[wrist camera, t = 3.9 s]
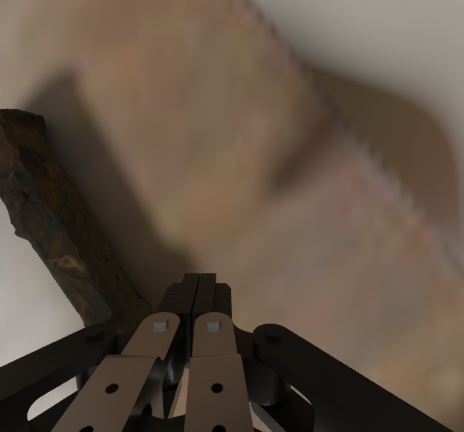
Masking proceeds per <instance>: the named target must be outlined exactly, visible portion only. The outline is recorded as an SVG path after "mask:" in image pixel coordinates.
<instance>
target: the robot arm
mask: <svg viewBox="0 0 464 432" xmlns="http://www.w3.org/2000/svg"><path fill="white" fill-rule="evenodd" d="M184 368H189V379H188V390H187V402H186V414H185V415H181V416H177V417H173V415H174V411H175V408H176V404H177V401H178V397H179V394H180V391H181V387H182V376H183V372H184ZM75 376H76V382H77V391H76V392H74V393H73V394H71V395H70V396H68V397H66V398H65V399H63V400H62V401H60V402H59V403H57V404H55V405H54V406H52V407H51V408H49V409H47V410H46V411H44V412H43V413H41V414H40V415H38V416H36V417H35V418H33V419H32V420H30V421H28V419H27V413H28V410H29V408H30V407H31V405H32V404H33V403H34V402H35V401H36V400H37V399H38V398H40V397H41V396H43V395H45V394H46V393H48V392H50V391H51V390H53V389H55V388H56V387H58V386H60V385H61V384H63V383H65V382H67V381H68V380H70V379H72V378H73V377H75ZM291 385H292V386H293V387H294V388H295V389H297V390H298V391H299V392H300V393H302V394H303V395H304V396H305V397H306V398H307V399H308V400H309V401H310V403H311V404H312V405H311V404H310V403H308V402H307V401H306V400H305V399H303V398H302V397H301V396H300V395H299V394H297V393H296V392H295V391H294V390H293V389H291ZM249 401H250V402H251V407H252V410H253V411H254V413H255V414H256V415H257V416H258V417H259V418H260V419H261V420H262V421H263V422H264V424H265V425H266V426H267V427H268V428H269V429H270V430H271V431H272V432H453V431H452V430H450V429H448V428H447V427H445V426H444V425H442V424H440V423H439V422H437V421H436V420H434V419H432V418H431V417H429V416H427V415H426V414H424V413H423V412H421V411H419V410H418V409H416V408H415V407H413V406H411V405H410V404H408V403H406V402H405V401H403V400H402V399H400V398H398V397H397V396H395V395H394V394H392V393H390V392H389V391H387V390H385V389H384V388H382V387H381V386H379V385H377V384H376V383H374V382H373V381H371V380H369V379H368V378H366V377H364V376H363V375H361V374H360V373H358V372H356V371H355V370H353V369H352V368H350V367H348V366H347V365H345V364H343V363H342V362H340V361H339V360H337V359H335V358H334V357H332V356H331V355H329V354H327V353H326V352H324V351H322V350H321V349H319V348H318V347H316V346H314V345H313V344H311V343H310V342H308V341H306V340H305V339H303V338H301V337H300V336H298V335H297V334H295V333H293V332H292V331H290V330H289V329H287V328H285V327H283V326H281V325H277V324H263V325H260V326H258V327H257V328H256V329H255V330H254V331H253V333H250V332H246V331H243V330H241V329H239V328H237V327H236V326H235V325H234V324H233V322H232V307H231V288H230V287H229V286H228V284H227V283H216V273H201V274H200V273H185V276H184V278H183V281H182V283H174V284H172V285H171V286H170V287H168V288H167V290H166V292H165V294H164V296H163V298H162V300H161V303H160V305H159V307H158V309H157V311H156V313H155V314H152V315H150V316H148V317H147V318H145V319H144V320H143V321H142V323H141V324H140V326H139V327H138V329H137V330H136V331H133V332H129V333H124V334H119V335H117V328H116V327H115V326H114V325H112V324H108V323H99V324H94V325H90V326H88V327H85V328H83V329H81V330H79V331H77V332H75V333H72V334H70V335H68V336H66V337H64V338H62V339H60V340H57V341H55V342H53V343H51V344H49V345H47V346H45V347H42V348H40V349H38V350H36V351H34V352H32V353H30V354H28V355H25V356H23V357H21V358H19V359H17V360H15V361H13V362H10V363H8V364H6V365H4V366H2V367H0V432H262V431H260V430H258V429H256V428H254V427H253V422H252V416H251V411H250V405H249Z"/></svg>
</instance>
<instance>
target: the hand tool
mask: <svg viewBox="0 0 464 432" xmlns="http://www.w3.org/2000/svg"><path fill="white" fill-rule="evenodd" d="M44 127H45V120H44V118H43V116H41V115H35V114H33V113H30V112H26V111H22V110H19V109H0V198H1V200H2V201H3V203H4V204H5V205H6V208H7V210H8V213H9V216H10V220H11V224H12V225H13V226H14V228H15V229H16V230H15V233H14V234H16V235H17V236H18V237H21V238H23V239H26V240H28V241H29V242H30V243H31V245H32V247H33V249H34V250H35V251H36V252H37V254H38V255H39V257H40V258H41V260H42V261H43V263H44V264H45V265H46V267H47V268H48V270H49V271H50V273H51V275H52V276H53V278H54V279H55V280H56V282H57V283H58V285H59V286H60V288H61V289H62V291H63V292H64V294H65V295H66V297H67V298H68V299H69V301H70V302H71V304H72V305H73V307H74V308H75V309H76V312H78V313H79V315H80V316H81V318H82V320H83V322H84V326H85V327H88V326H90V325H94V324H99V323H108V324H112V325H114V326H115V327H116V328H117V335H119V334H124V333H129V332H133V331H136V330H137V329H138V327H139V326H140V324H141V323H142V321H143V320H144V319H145V318H147V317H148V316H150V315H152V312H151V309H150V306H149V304H148V302H147V301H146V300H145V299H144V297H138V296H137V295H136V294H135V292H134V290H133V289H132V287H131V286H130V284H129V282H128V281H127V279H126V277H125V275H124V273H123V271H122V269H121V268H120V266H119V264H118V262H117V261H116V259H115V257H114V255H113V252H112V250H111V248H110V246H109V244H108V243H107V241H106V240H105V239H104V238H103V236H102V235H101V233H100V232H99V230H98V228H97V226H96V225H95V223H94V221H93V220H92V218H91V216H90V214H89V212H88V210H87V208H86V207H85V204H84V202H83V201H82V199H81V198H80V196H79V194H78V192H77V189H76V187H75V186H74V185H73V184H72V183H71V182H70V180H69V179H68V177H67V175H66V174H65V172H64V170H63V169H62V167H61V165H60V164H59V162H58V161H57V159H56V158H55V156H54V155H53V153H52V151H51V150H50V148H49V146H48V144H47V142H46V141H45V139H44V136H43V133H42V130H43V129H44Z"/></svg>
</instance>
